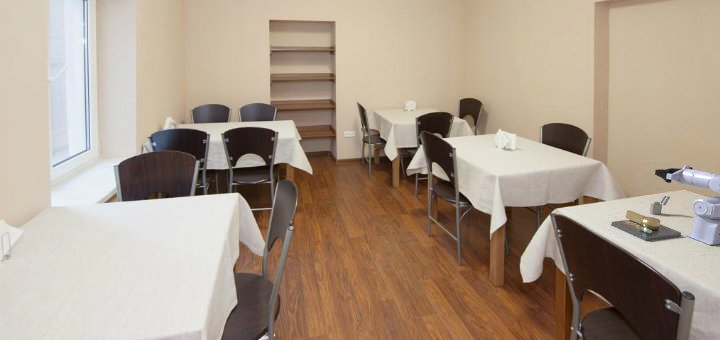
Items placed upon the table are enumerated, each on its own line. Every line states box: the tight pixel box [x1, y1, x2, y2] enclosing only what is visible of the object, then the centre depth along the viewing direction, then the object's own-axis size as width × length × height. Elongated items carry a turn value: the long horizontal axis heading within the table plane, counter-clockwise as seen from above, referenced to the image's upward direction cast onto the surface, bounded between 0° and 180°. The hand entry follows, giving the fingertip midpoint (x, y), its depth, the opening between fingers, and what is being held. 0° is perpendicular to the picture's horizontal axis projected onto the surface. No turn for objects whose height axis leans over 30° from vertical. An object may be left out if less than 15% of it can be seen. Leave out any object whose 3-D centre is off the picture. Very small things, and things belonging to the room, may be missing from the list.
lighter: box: [649, 194, 671, 215], centre depth 190 cm, size 7×2×8 cm, turn 96°
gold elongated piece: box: [625, 210, 661, 230], centre depth 174 cm, size 14×6×3 cm, turn 15°
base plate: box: [610, 219, 682, 242], centre depth 172 cm, size 16×16×3 cm
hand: (663, 171), depth 178 cm, fingers open, 7 cm apart
